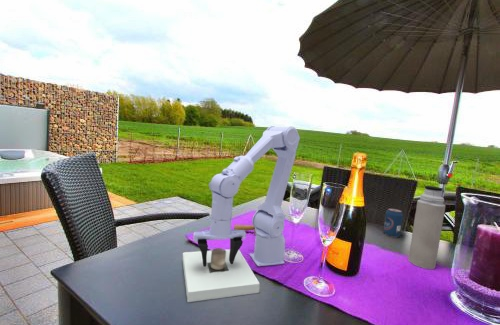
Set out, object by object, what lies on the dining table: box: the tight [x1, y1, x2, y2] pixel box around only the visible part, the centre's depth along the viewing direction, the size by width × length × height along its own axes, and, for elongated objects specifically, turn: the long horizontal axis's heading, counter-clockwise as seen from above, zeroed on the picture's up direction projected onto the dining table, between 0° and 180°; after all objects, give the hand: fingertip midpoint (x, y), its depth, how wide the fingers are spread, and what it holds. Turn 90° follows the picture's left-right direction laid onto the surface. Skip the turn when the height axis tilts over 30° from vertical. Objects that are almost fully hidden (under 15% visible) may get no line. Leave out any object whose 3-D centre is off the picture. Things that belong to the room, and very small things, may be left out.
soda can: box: [383, 207, 404, 238], centre depth 114 cm, size 7×7×12 cm
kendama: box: [233, 224, 256, 236], centre depth 103 cm, size 8×6×18 cm
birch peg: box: [209, 247, 226, 273], centre depth 70 cm, size 4×4×7 cm
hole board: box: [182, 248, 261, 303], centre depth 70 cm, size 18×20×2 cm
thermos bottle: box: [408, 185, 446, 270], centre depth 87 cm, size 8×8×28 cm
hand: (218, 263), depth 70 cm, fingers open, 7 cm apart
